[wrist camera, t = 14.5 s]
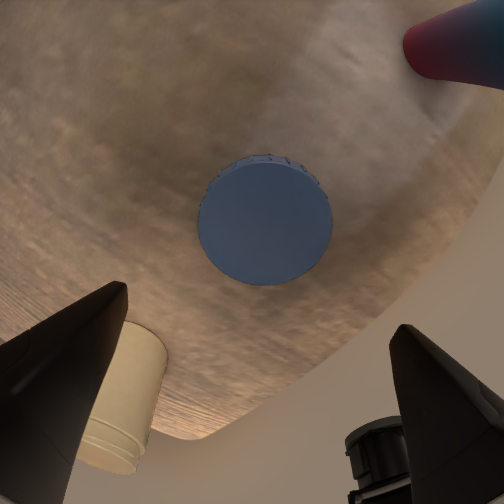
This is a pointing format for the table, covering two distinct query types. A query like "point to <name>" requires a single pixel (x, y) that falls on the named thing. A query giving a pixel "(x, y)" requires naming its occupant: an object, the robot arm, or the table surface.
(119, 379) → the jar
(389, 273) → the table surface
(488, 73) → the cup
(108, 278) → the table surface
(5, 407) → the robot arm
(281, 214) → the lid
